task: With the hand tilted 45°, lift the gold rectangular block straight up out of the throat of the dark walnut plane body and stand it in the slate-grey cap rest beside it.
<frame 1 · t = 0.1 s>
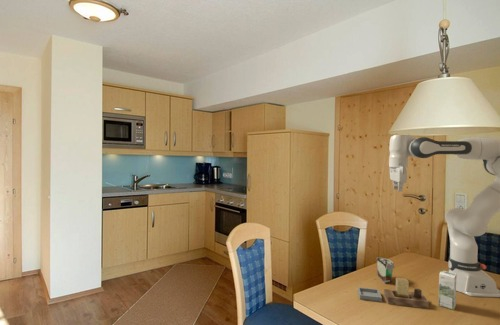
hand: (397, 190, 151), 48 cm above the table, tool pointing down, fingers open, 8 cm apart
gold rectangular block: (401, 301, 131), resting in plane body
cap rest: (369, 296, 135), on the table
syrup box: (447, 306, 127), on the table
food container: (386, 280, 153), on the table
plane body: (405, 301, 130), on the table
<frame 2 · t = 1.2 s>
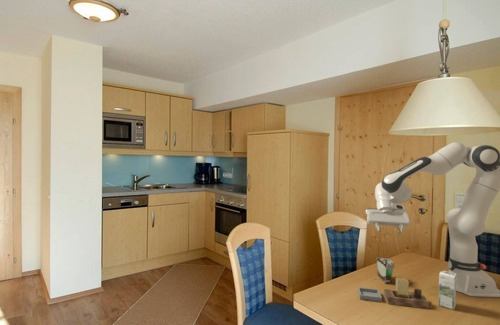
hand: (389, 232, 144), 28 cm above the table, tool tilted 45°, fingers open, 8 cm apart
nothing on the table moved.
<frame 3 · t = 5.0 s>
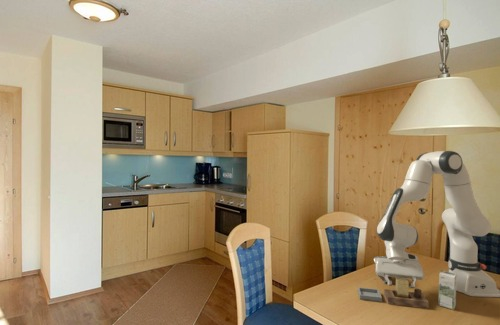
hand: (401, 286, 131), 7 cm above the table, tool tilted 45°, fingers open, 8 cm apart
nothing on the table moved.
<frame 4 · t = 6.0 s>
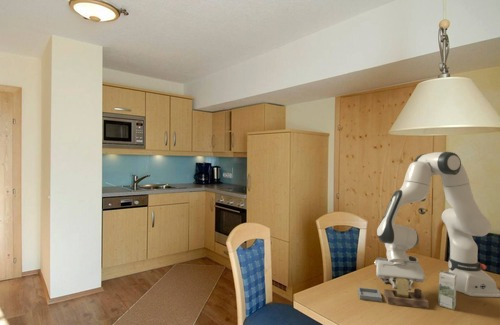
hand: (402, 289, 130), 6 cm above the table, tool tilted 45°, fingers closed on gold rectangular block, 4 cm apart
gold rectangular block: (401, 301, 131), resting in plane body, touching gripper
everything else where it was.
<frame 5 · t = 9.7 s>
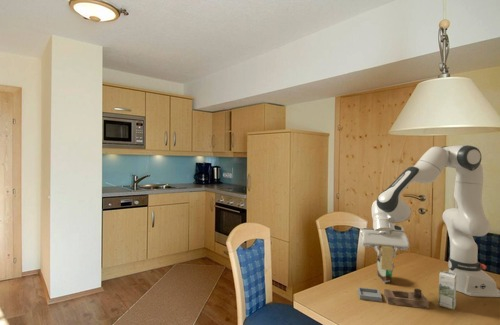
hand: (386, 256, 131), 20 cm above the table, tool tilted 45°, fingers closed on gold rectangular block, 4 cm apart
gold rectangular block: (386, 268, 132), point 14 cm above the table, touching gripper
everything else where it was.
when the fingers open (8 cm above the table, at t = 13.4 s): gold rectangular block drops 1 cm, resting on cap rest.
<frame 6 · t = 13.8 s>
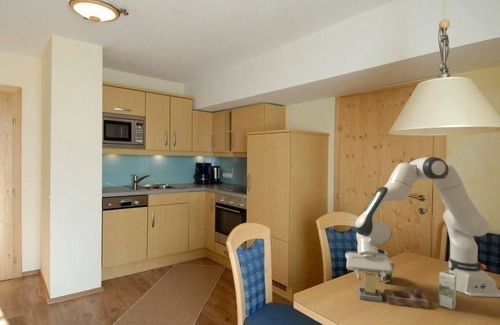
hand: (370, 280, 134), 8 cm above the table, tool tilted 45°, fingers open, 8 cm apart
gold rectangular block: (369, 295, 135), resting on cap rest
everything else where it was.
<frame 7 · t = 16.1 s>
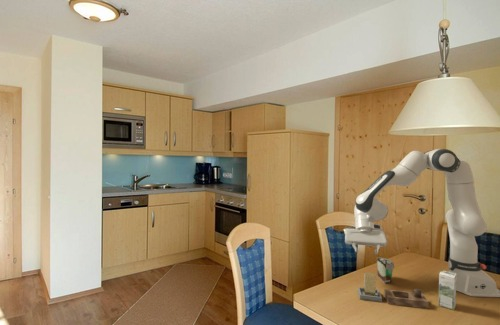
hand: (366, 252, 145), 17 cm above the table, tool tilted 45°, fingers open, 8 cm apart
nothing on the table moved.
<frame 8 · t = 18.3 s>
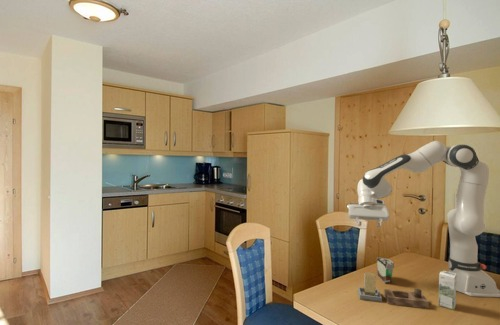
hand: (369, 226, 150), 29 cm above the table, tool tilted 45°, fingers open, 8 cm apart
nothing on the table moved.
at the end: gold rectangular block inside the target area (0.1 cm from its centre), point 0.5 cm above the table; gold rectangular block tilted 0°; the gripper is holding nothing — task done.
